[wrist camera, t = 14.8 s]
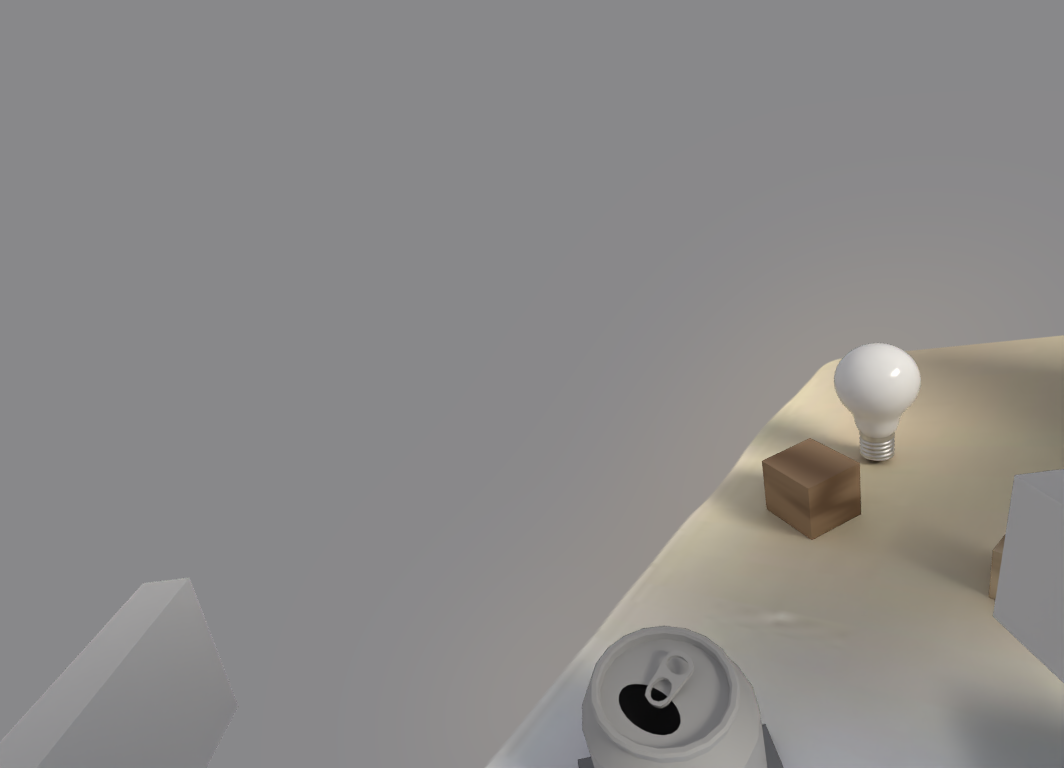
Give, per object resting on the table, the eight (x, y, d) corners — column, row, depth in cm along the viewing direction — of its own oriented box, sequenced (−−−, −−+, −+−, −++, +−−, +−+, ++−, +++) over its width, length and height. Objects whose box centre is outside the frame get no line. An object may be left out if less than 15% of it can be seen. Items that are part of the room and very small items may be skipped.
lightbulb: (921, 442, 55) (924, 330, 50) (916, 483, 50) (918, 364, 46) (843, 436, 58) (839, 331, 54) (831, 474, 54) (826, 362, 49)
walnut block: (813, 486, 53) (810, 438, 51) (861, 514, 49) (859, 463, 47) (767, 509, 52) (761, 460, 50) (811, 540, 48) (808, 488, 46)
